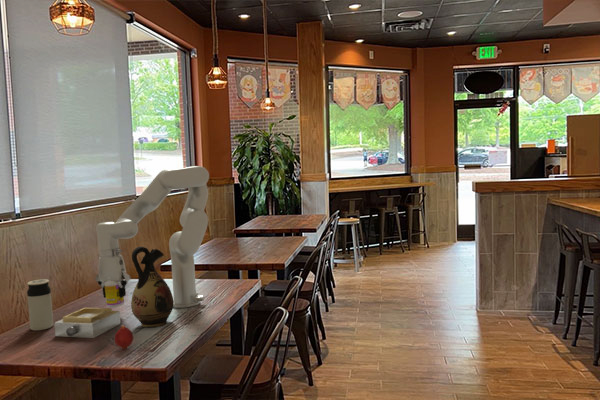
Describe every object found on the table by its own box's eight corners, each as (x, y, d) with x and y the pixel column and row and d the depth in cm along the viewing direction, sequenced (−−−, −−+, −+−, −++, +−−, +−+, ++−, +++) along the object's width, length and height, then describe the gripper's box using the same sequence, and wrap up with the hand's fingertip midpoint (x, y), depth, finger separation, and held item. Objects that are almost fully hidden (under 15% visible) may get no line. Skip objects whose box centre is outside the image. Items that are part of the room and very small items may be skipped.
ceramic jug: (161, 315, 202) (157, 241, 200) (182, 322, 191) (177, 244, 189) (121, 325, 190) (115, 247, 188) (140, 334, 179) (134, 251, 177)
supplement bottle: (118, 307, 198) (114, 276, 197) (103, 308, 199) (99, 276, 198) (127, 302, 204) (124, 271, 203) (113, 303, 206) (109, 272, 205)
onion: (118, 346, 168) (116, 323, 167) (135, 345, 168) (134, 321, 168) (113, 352, 162) (111, 328, 161) (131, 351, 162) (129, 327, 162)
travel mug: (58, 324, 195) (54, 279, 194) (41, 331, 187) (37, 284, 186) (42, 323, 197) (38, 278, 196) (25, 330, 190) (21, 283, 189)
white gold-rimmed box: (120, 323, 193) (119, 307, 192) (89, 340, 175) (88, 321, 175) (84, 322, 197) (83, 306, 196) (51, 338, 179) (49, 320, 179)
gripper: (134, 250, 201) (139, 293, 203) (96, 251, 206) (102, 294, 207) (123, 254, 194) (128, 299, 196) (84, 255, 198) (90, 299, 200)
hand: (114, 296), depth 201 cm, fingers closed on supplement bottle, 6 cm apart
